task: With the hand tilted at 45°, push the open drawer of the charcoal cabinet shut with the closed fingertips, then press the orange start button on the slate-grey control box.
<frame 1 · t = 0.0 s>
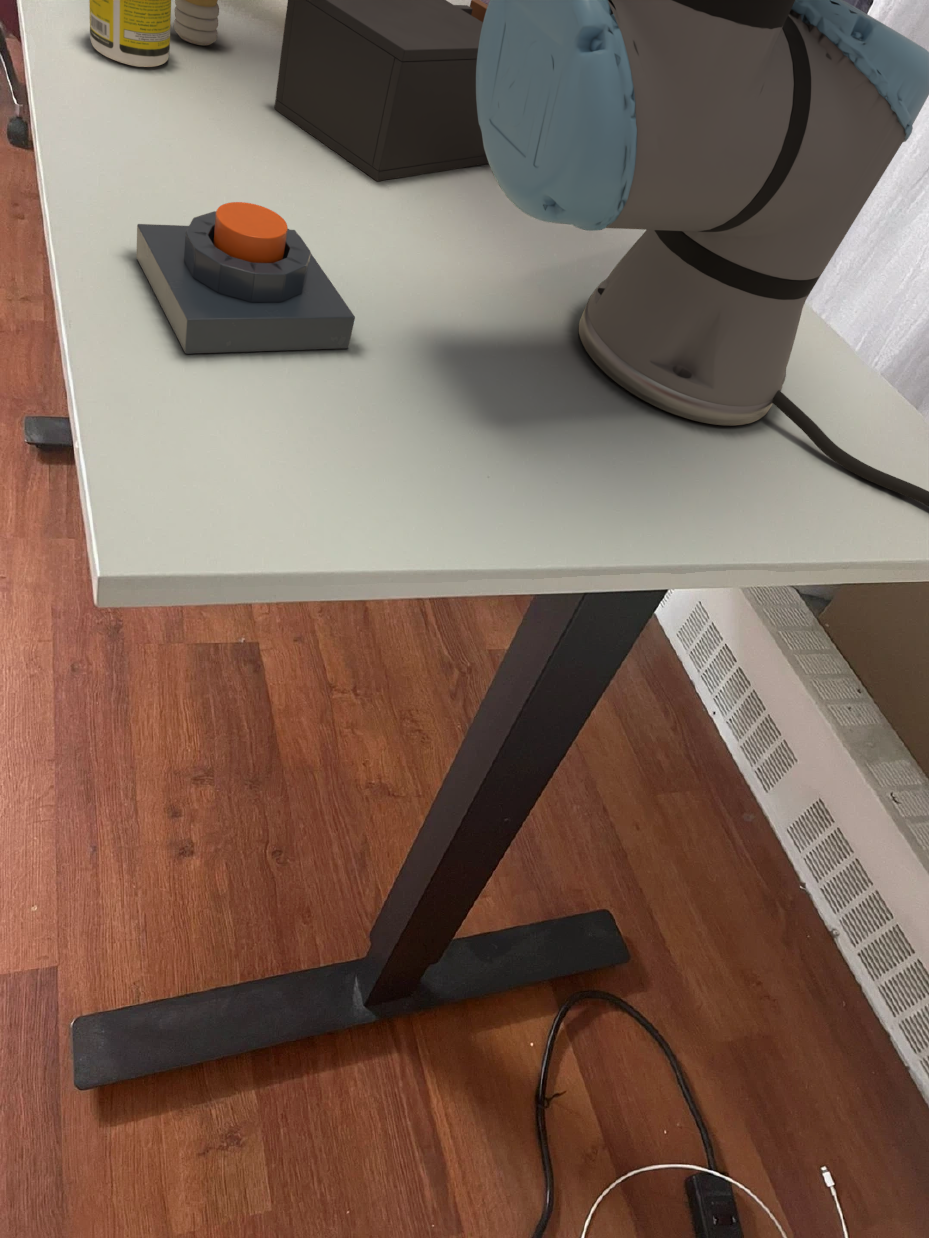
drawer: (469, 74, 81), point 5 cm above the table, slide at 7.0 cm
start button: (250, 234, 52), point 4 cm above the table, slide at 0.1 cm
control box: (242, 303, 55), on the table
light bulb: (195, 42, 81), on the table
pill bottle: (129, 56, 75), on the table
microphone: (471, 48, 104), on the table
cabinet: (385, 137, 79), on the table
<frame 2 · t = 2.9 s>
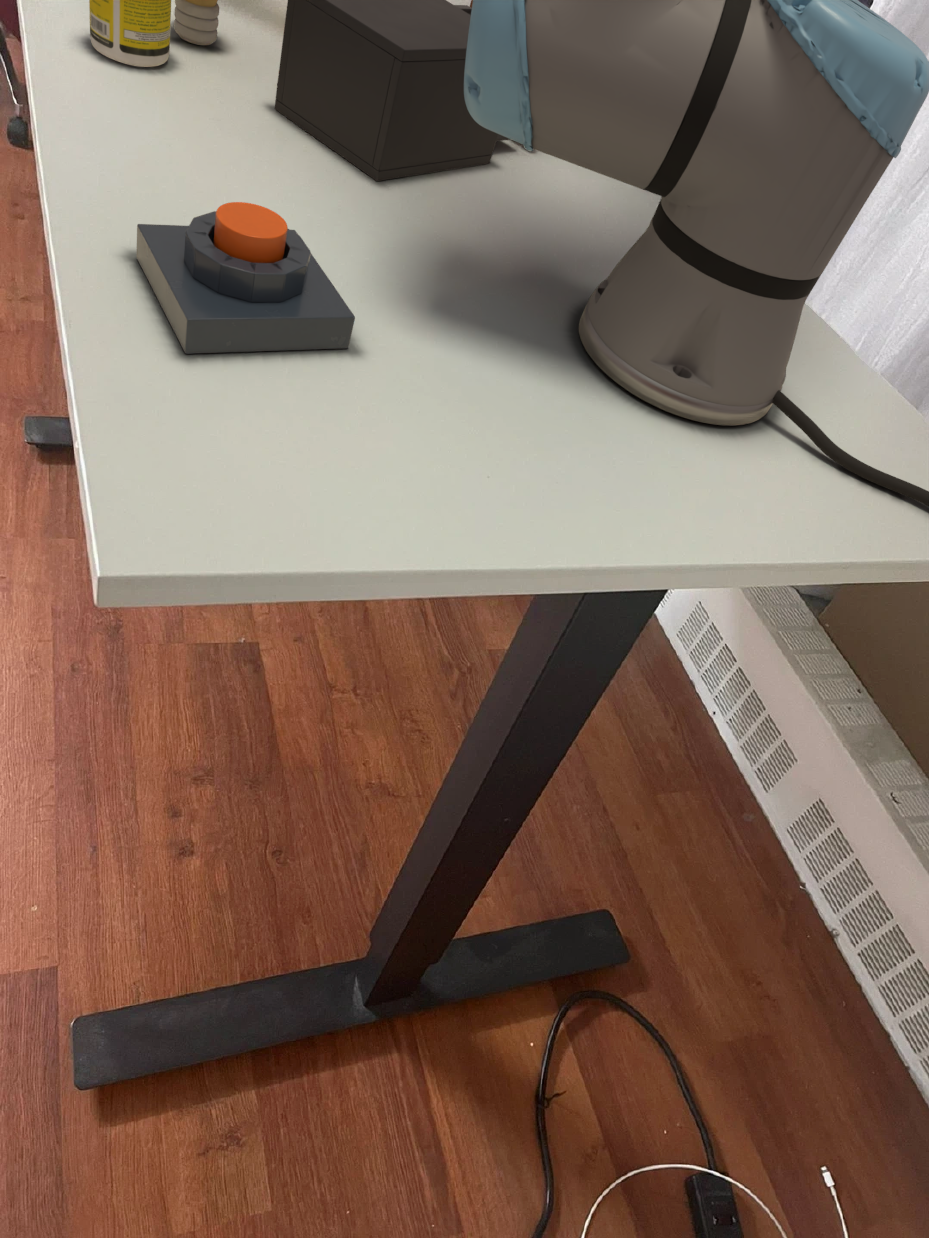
nothing on the table moved.
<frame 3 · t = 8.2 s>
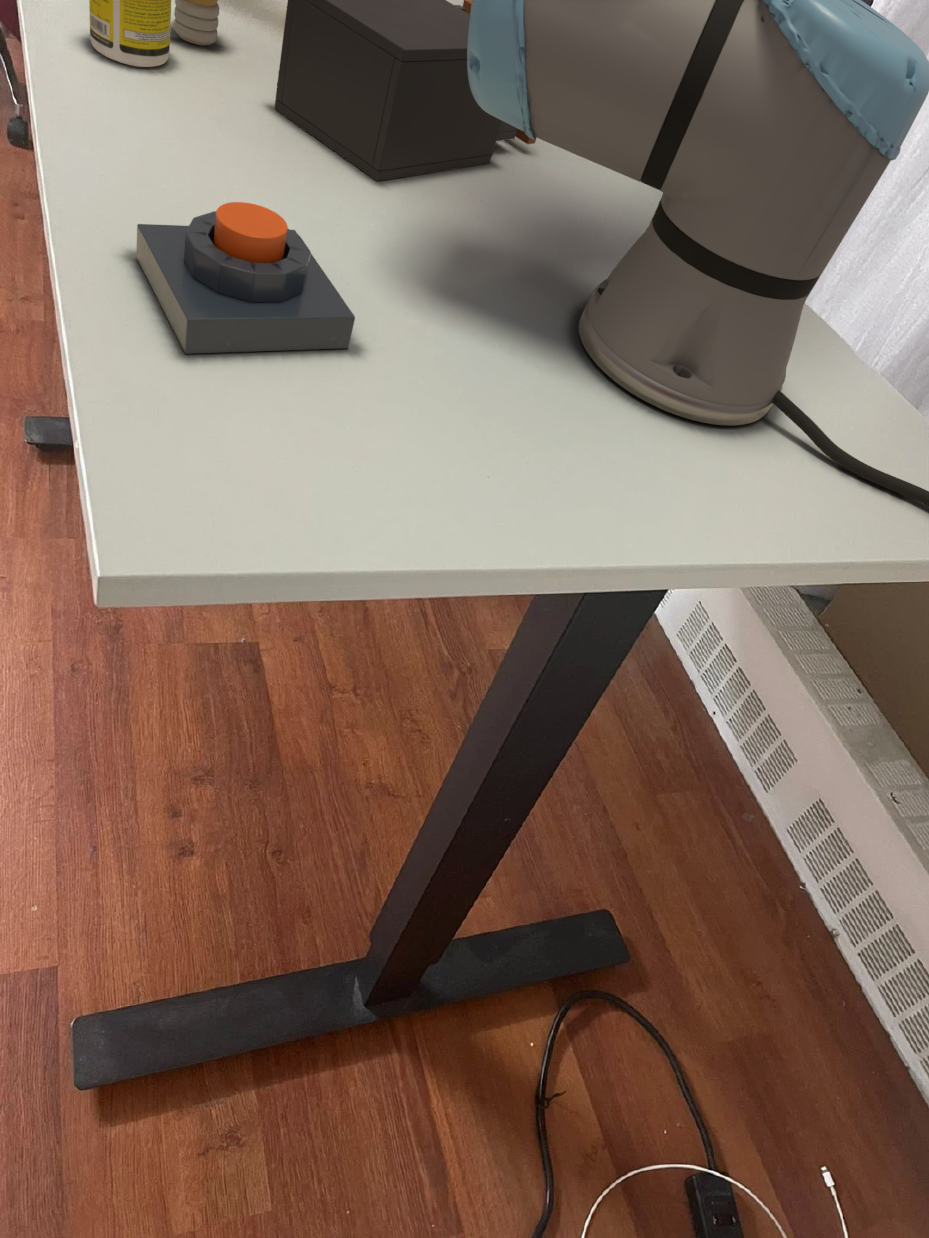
hand: (513, 86, 87), 3 cm above the table, tool tilted 45°, fingers closed
drawer: (462, 75, 81), point 5 cm above the table, slide at 6.0 cm, touching gripper
everything else where it was.
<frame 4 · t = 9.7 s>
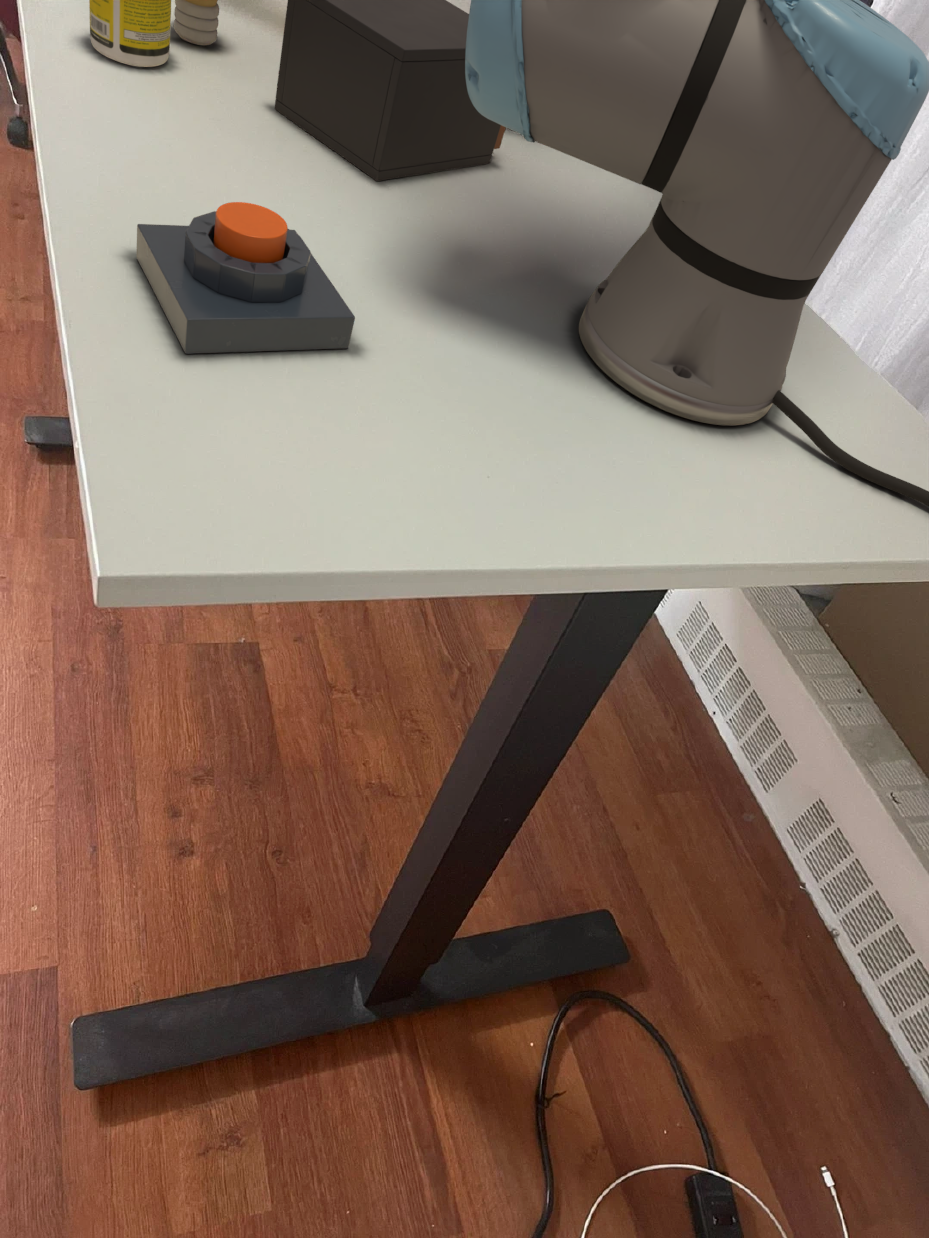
hand: (477, 87, 84), 4 cm above the table, tool tilted 45°, fingers closed
drawer: (421, 77, 77), point 5 cm above the table, slide at 0.5 cm, touching gripper
everything else where it was.
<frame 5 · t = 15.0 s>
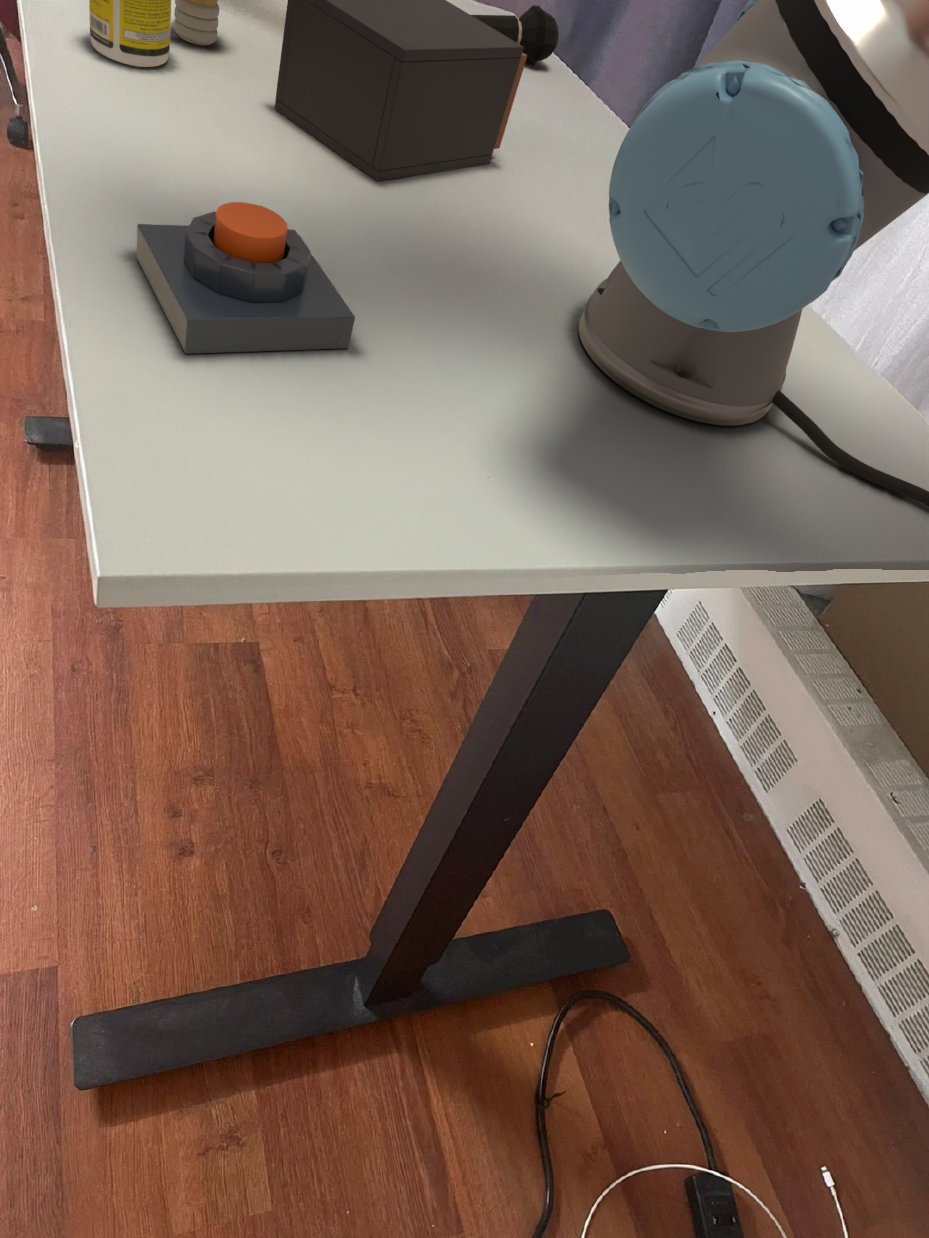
drawer: (421, 77, 77), point 5 cm above the table, slide at 0.5 cm
everything else where it was.
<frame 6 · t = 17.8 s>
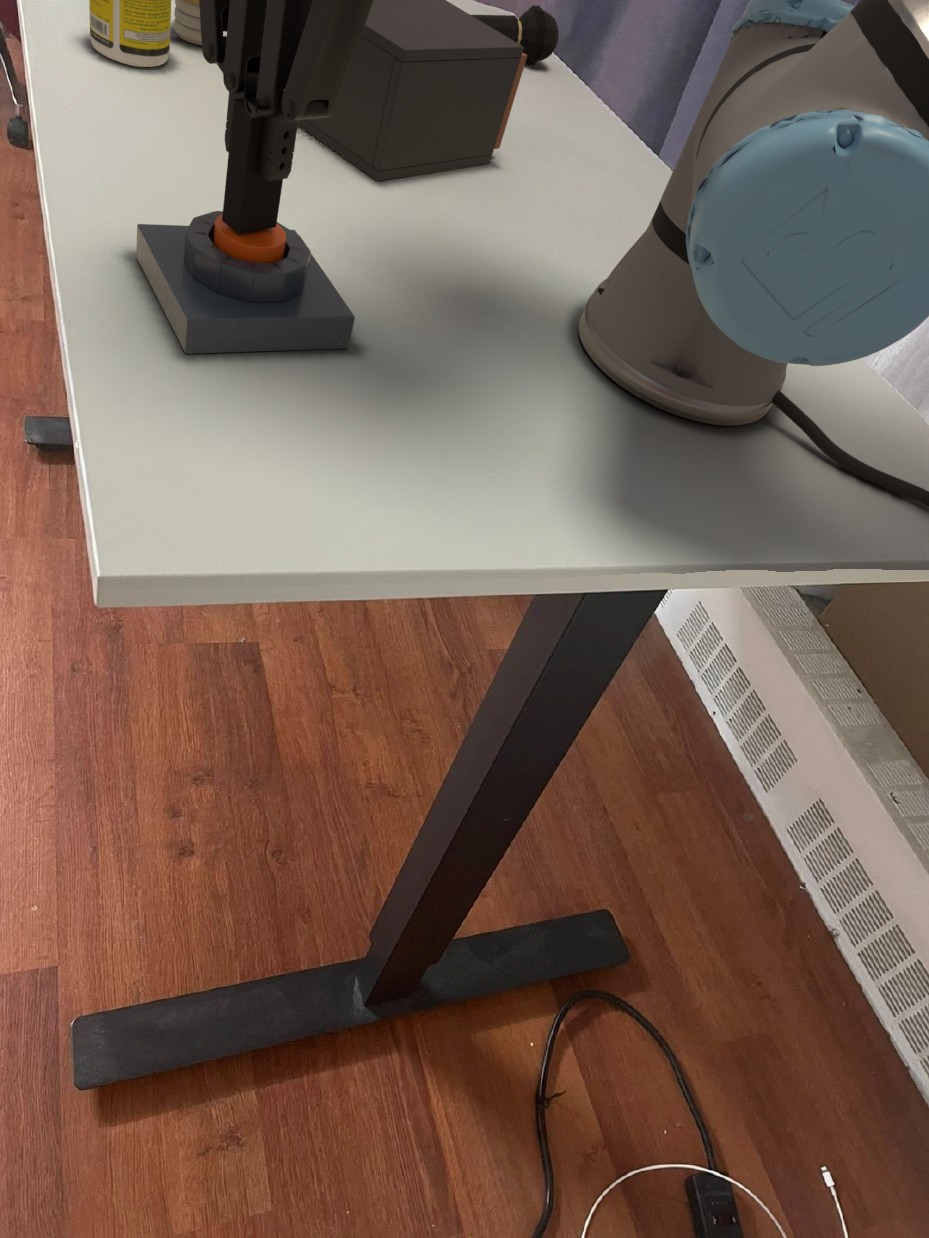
hand: (249, 223, 51), 5 cm above the table, tool pointing down, fingers closed
start button: (249, 243, 52), point 4 cm above the table, slide at -0.5 cm, touching gripper
everything else where it was.
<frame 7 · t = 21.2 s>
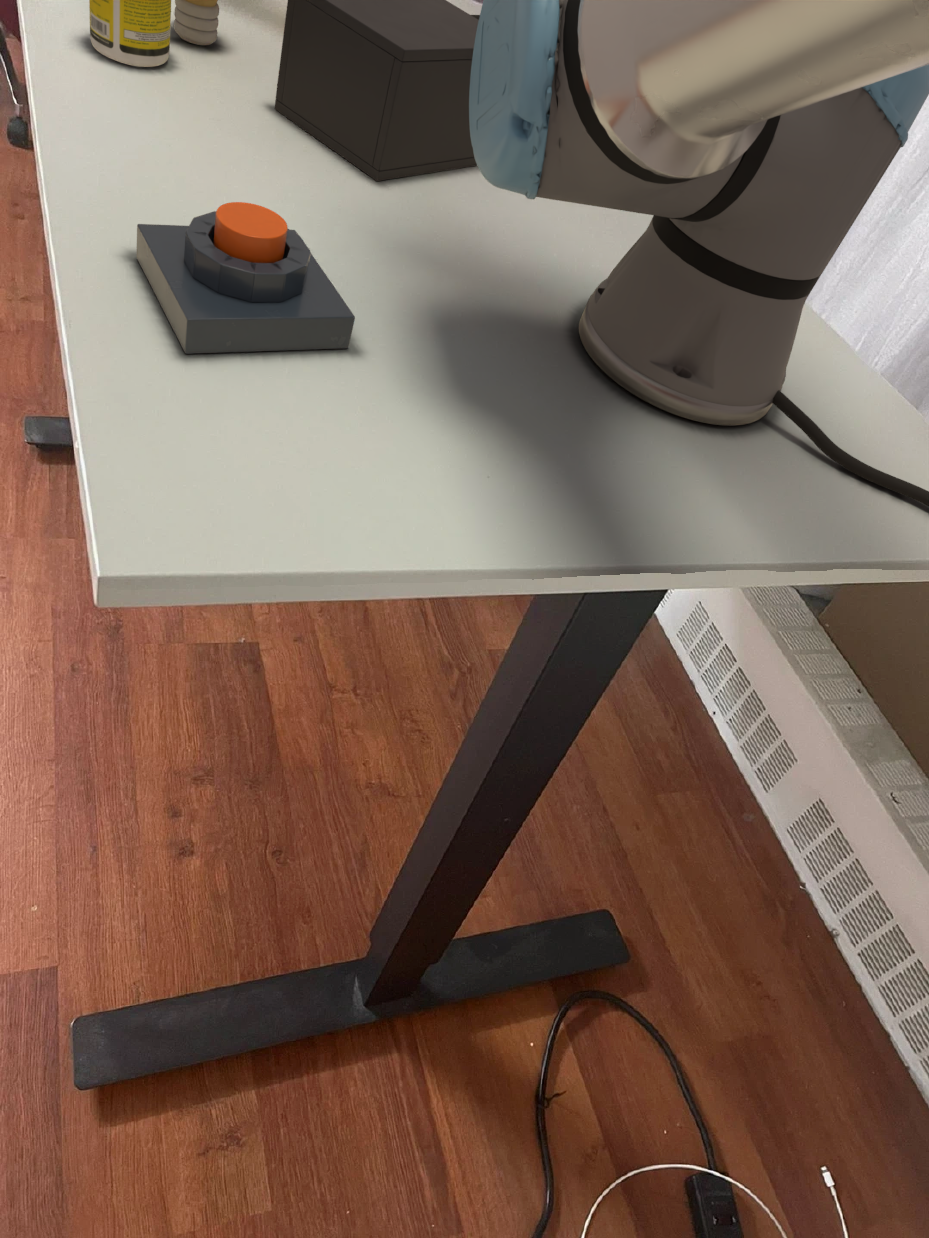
start button: (250, 234, 52), point 4 cm above the table, slide at 0.1 cm
everything else where it was.
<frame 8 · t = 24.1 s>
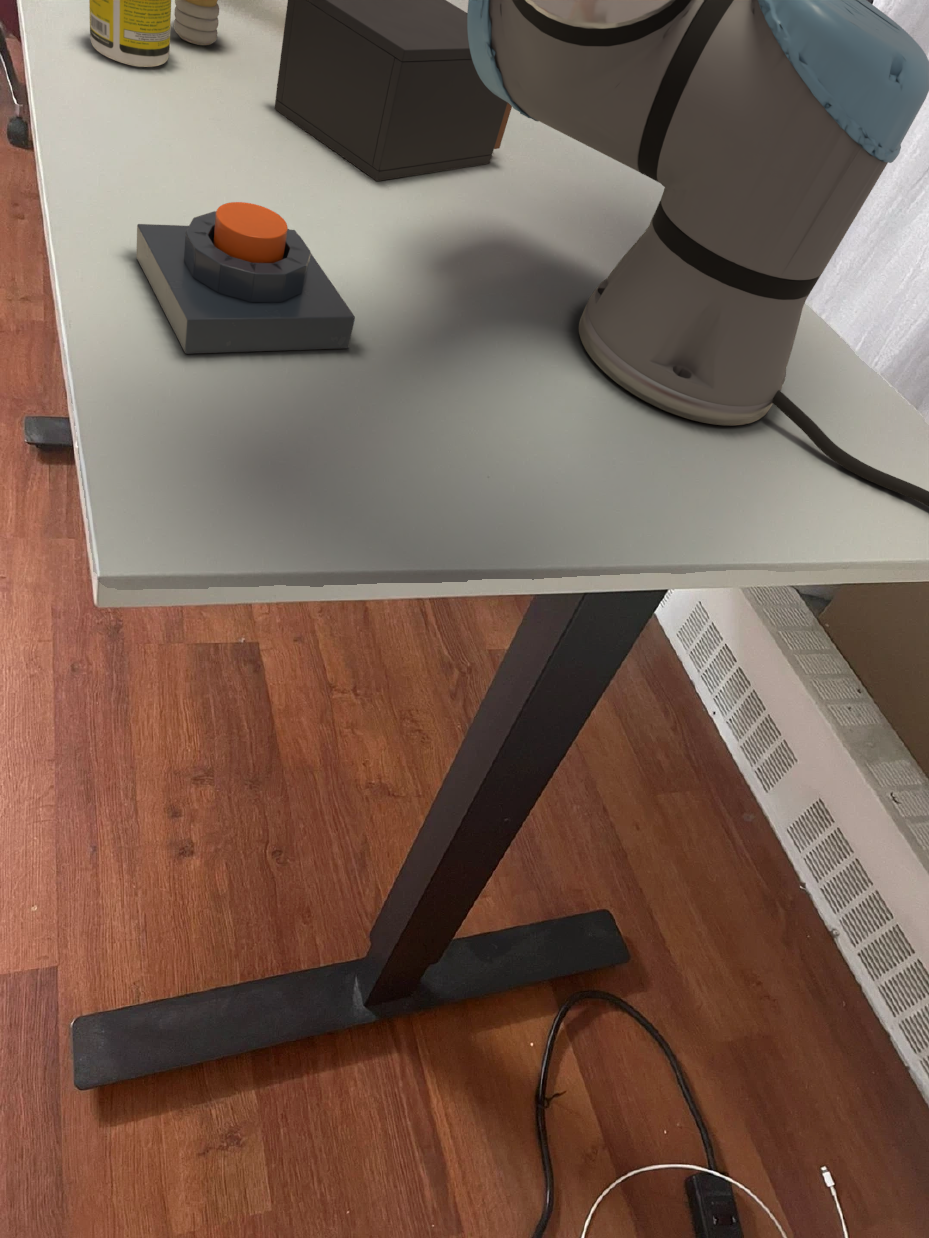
nothing on the table moved.
at the end: drawer slide at 0.5 cm; start button pushed in 1.0 cm at the most during the clip, back to where it started at the end; start button slide at 0.1 cm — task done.
